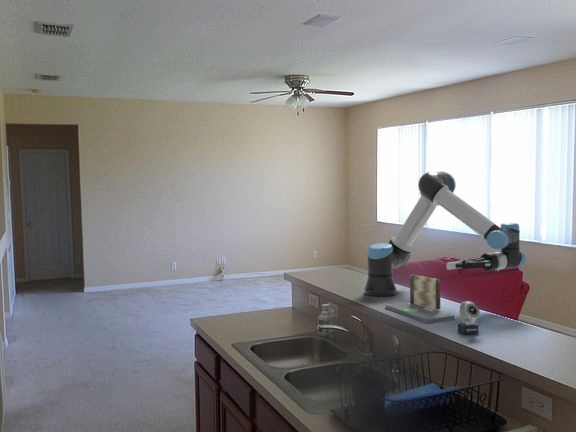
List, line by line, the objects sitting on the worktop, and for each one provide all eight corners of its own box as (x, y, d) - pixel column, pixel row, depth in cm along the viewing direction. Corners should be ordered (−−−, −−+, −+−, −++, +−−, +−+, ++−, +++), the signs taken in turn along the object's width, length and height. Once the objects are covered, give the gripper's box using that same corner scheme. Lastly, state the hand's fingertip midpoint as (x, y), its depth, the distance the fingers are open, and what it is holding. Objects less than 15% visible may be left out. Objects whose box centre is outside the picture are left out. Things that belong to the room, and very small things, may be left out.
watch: (467, 336, 185) (467, 305, 185) (454, 330, 193) (454, 300, 192) (482, 335, 187) (482, 303, 186) (469, 329, 194) (469, 299, 194)
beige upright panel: (408, 303, 229) (408, 274, 228) (413, 302, 230) (413, 274, 230) (436, 309, 216) (436, 280, 215) (441, 308, 218) (441, 279, 217)
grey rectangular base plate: (385, 308, 229) (385, 304, 229) (411, 304, 234) (411, 301, 234) (426, 323, 203) (426, 319, 203) (454, 319, 209) (454, 315, 208)
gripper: (504, 272, 224) (458, 277, 215) (481, 268, 236) (437, 273, 227) (504, 254, 223) (458, 258, 214) (481, 251, 235) (437, 255, 226)
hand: (447, 266), depth 220 cm, fingers closed
